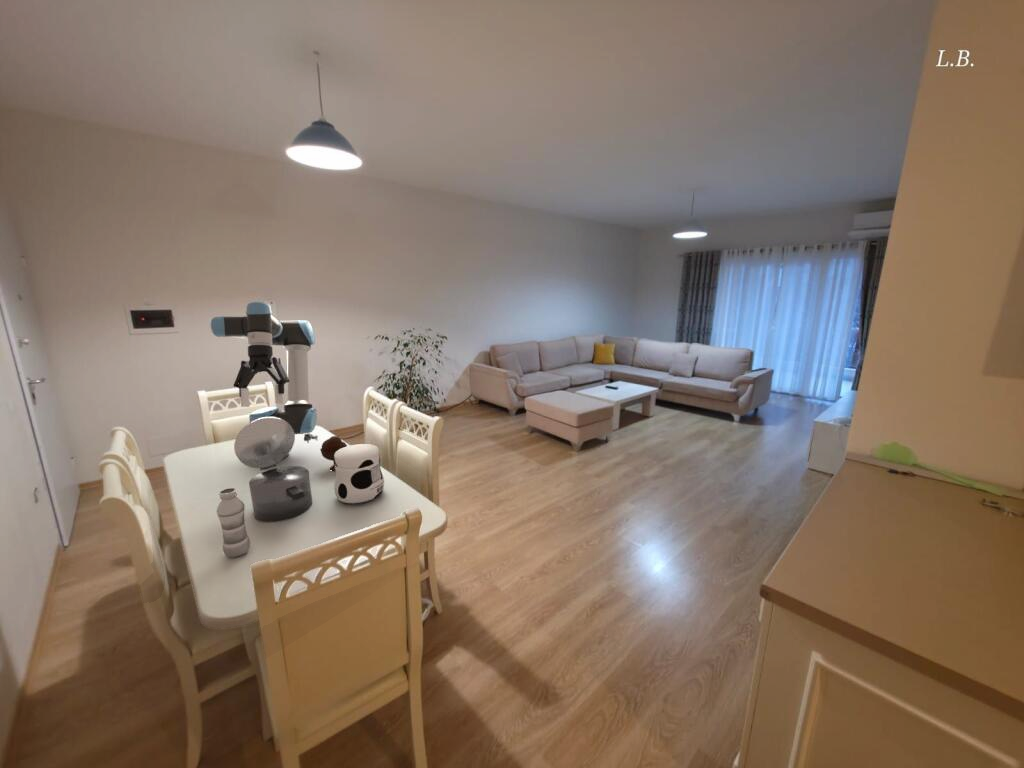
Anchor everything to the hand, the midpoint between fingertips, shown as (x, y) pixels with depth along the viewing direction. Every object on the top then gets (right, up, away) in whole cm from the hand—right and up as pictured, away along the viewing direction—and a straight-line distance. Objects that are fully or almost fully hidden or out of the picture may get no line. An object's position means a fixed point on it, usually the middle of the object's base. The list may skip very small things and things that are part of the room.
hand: (262, 405), depth 142 cm
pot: (+10, -37, -2) cm, 38 cm away
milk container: (+32, -35, +8) cm, 48 cm away
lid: (+1, -14, +1) cm, 14 cm away
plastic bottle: (+8, -42, -25) cm, 50 cm away
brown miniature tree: (+12, -29, +32) cm, 45 cm away
